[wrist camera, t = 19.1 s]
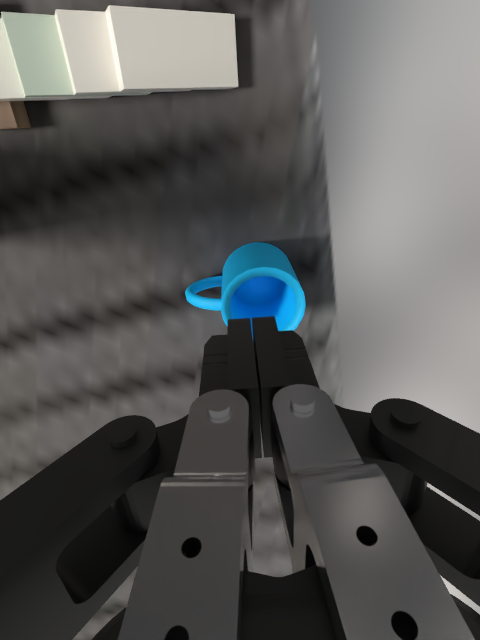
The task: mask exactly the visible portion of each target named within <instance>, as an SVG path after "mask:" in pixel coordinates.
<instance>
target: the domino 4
mask: <svg viewBox="0 0 480 640" xmlns="http://www.w3.org/2000/svg"><path fill="white" fill-rule="evenodd" d="M105 14H106V19H107V24H108V30H109V35H110V41H111V46H112V51H113V57H114V62H115V67H116V73H117V78H118V83H119V89H120V91H162V90H209V89H232V88H236V87H238V71H237V53H236V35H235V17H234V14H225V13H211V12H197V11H182V10H168V9H154V8H140V7H126V6H111V5H109V6H108V8H107V10H106V11H105Z"/></svg>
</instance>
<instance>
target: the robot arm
mask: <svg viewBox="0 0 480 640" xmlns="http://www.w3.org/2000/svg"><path fill="white" fill-rule="evenodd" d="M252 331H253V338H252ZM260 423H261V432H262V441H263V451H264V457H273V463H274V478H275V488H276V492H277V497H278V502H279V506H280V511H281V515H282V520H283V524H284V529H285V534H286V538H287V543H288V547H289V552H290V557H291V563H292V570H293V574H290V575H288V576H285V577H272V576H268V575H263V574H259V573H254V572H253V539H254V479H255V476H256V467H255V458H262V453H261V433H260ZM427 483H429V484H431V485H432V486H434V487H436V488H437V489H439V490H440V491H442V492H443V493H445V494H447V495H448V496H450V497H451V498H453V499H454V500H456V501H458V502H459V503H461V504H462V505H464V506H465V507H467V508H469V509H470V510H471V511H473V512H475V513H476V514H478V515H479V516H480V434H479V433H477V432H475V431H473V430H471V429H469V428H467V427H465V426H463V425H461V424H459V423H457V422H455V421H453V420H451V419H449V418H447V417H445V416H443V415H441V414H439V413H437V412H435V411H433V410H431V409H429V408H427V407H425V406H423V405H421V404H418V403H416V402H413V401H410V400H406V399H395V398H393V399H386V400H383V401H380V402H378V403H377V404H376V405H375V406H374V407H373V409H372V411H371V413H367V412H361V411H355V410H349V409H345V408H342V407H340V406H337V405H335V404H334V403H333V401H332V399H331V398H330V396H329V395H328V394H327V393H326V392H324V391H323V390H321V389H320V388H319V385H318V382H317V379H316V377H315V374H314V371H313V368H312V365H311V362H310V360H309V358H308V354H307V351H306V350H305V346H304V343H303V340H302V338H301V337H300V336H299V335H298V334H296V333H295V332H294V331H293V330H287V331H278V328H277V324H276V320H275V316H269V317H255V318H252V330H251V321H250V318H242V319H228V335H216V336H212V337H211V338H210V339H209V340H208V341H207V343H206V344H205V346H204V357H203V366H202V374H201V383H200V392H199V397H198V398H197V399H196V400H195V401H194V402H193V403H192V405H191V407H190V410H189V414H188V415H186V416H185V417H183V418H182V419H180V420H178V421H175V422H172V423H169V424H166V425H163V426H160V427H157V428H156V427H155V425H154V423H153V422H152V421H151V420H150V419H148V418H146V417H143V416H137V415H132V416H125V417H121V418H118V419H115V420H113V421H111V422H109V423H108V424H106V425H104V426H103V427H102V428H100V429H99V430H98V431H96V432H95V433H93V434H92V435H91V436H89V437H88V438H86V439H85V440H84V441H82V442H81V443H80V444H78V445H77V446H75V447H74V448H73V449H71V450H70V451H68V452H67V453H66V454H64V455H63V456H61V457H60V458H59V459H57V460H56V461H55V462H53V463H52V464H50V465H49V466H48V467H46V468H45V469H43V470H42V471H41V472H39V473H38V474H36V475H35V476H34V477H32V478H31V479H30V480H28V481H27V482H25V483H24V484H23V485H21V486H20V487H18V488H17V489H16V490H14V491H13V492H12V493H10V494H9V495H7V496H6V497H5V498H3V499H2V500H0V640H72V639H73V638H74V637H75V636H76V635H77V633H78V632H79V631H80V630H81V629H82V628H83V627H84V626H85V624H86V623H87V622H88V621H89V620H90V619H91V618H92V617H93V615H94V614H95V613H96V612H97V611H98V610H99V609H100V608H101V606H102V605H103V604H104V603H105V602H106V601H107V600H108V599H109V597H110V596H111V595H112V594H113V593H114V592H115V591H116V590H117V589H118V587H119V586H120V585H121V584H122V583H123V582H124V581H125V580H126V578H127V577H128V576H129V575H130V574H131V573H132V572H133V571H134V569H135V568H136V567H137V566H138V568H137V571H136V575H135V578H134V582H133V586H132V589H131V593H130V597H129V600H128V604H127V607H126V608H124V609H123V610H122V611H121V612H120V613H118V614H117V615H116V616H115V617H114V618H112V619H111V620H110V621H109V622H108V623H107V624H106V625H105V626H104V627H103V628H102V629H101V630H100V631H99V632H98V633H97V634H96V635H95V637H94V638H93V639H92V640H480V615H479V614H478V613H477V612H476V611H474V610H473V609H472V608H471V607H469V606H468V605H466V604H465V603H464V602H462V601H461V600H459V599H458V598H456V597H455V596H453V595H451V594H450V593H449V591H448V589H447V588H446V586H445V584H444V582H443V580H442V578H441V577H440V575H441V576H442V577H443V578H445V579H446V580H447V581H449V582H450V583H451V584H452V585H453V586H455V587H456V588H457V589H458V590H460V591H461V592H462V593H463V594H465V595H466V596H467V597H468V598H470V599H471V600H472V601H473V602H475V603H476V604H477V605H478V606H480V521H479V520H477V519H476V518H474V517H473V516H471V515H470V514H468V513H467V512H465V511H464V510H462V509H460V508H459V507H457V506H456V505H454V504H453V503H451V502H450V501H448V500H447V499H445V498H444V497H442V496H440V495H439V494H437V493H436V492H434V491H433V490H431V489H430V488H428V487H427ZM439 574H440V575H439Z"/></svg>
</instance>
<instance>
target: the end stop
mask: <svg viewBox="0 0 480 640" xmlns="http://www.w3.org/2000/svg"><path fill="white" fill-rule="evenodd" d="M22 128H31V125H30V122H29V119H28V115H27V112H26V108H25V105H24V102H23V101H0V130H8V129H22Z"/></svg>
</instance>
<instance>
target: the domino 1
mask: <svg viewBox="0 0 480 640" xmlns="http://www.w3.org/2000/svg"><path fill="white" fill-rule="evenodd" d="M109 97H111V96H81V97H36V98H25V97H24V93H23V90H22V87H21V83H20V80H19V76H18V73H17V70H16V66H15V63H14V59H13V56H12V53H11V49H10V46H9V42H8V39H7V36H6V32H5V29H4V25H3V22H2V19H1V18H0V101H5V100H48V99H90V98H109Z"/></svg>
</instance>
